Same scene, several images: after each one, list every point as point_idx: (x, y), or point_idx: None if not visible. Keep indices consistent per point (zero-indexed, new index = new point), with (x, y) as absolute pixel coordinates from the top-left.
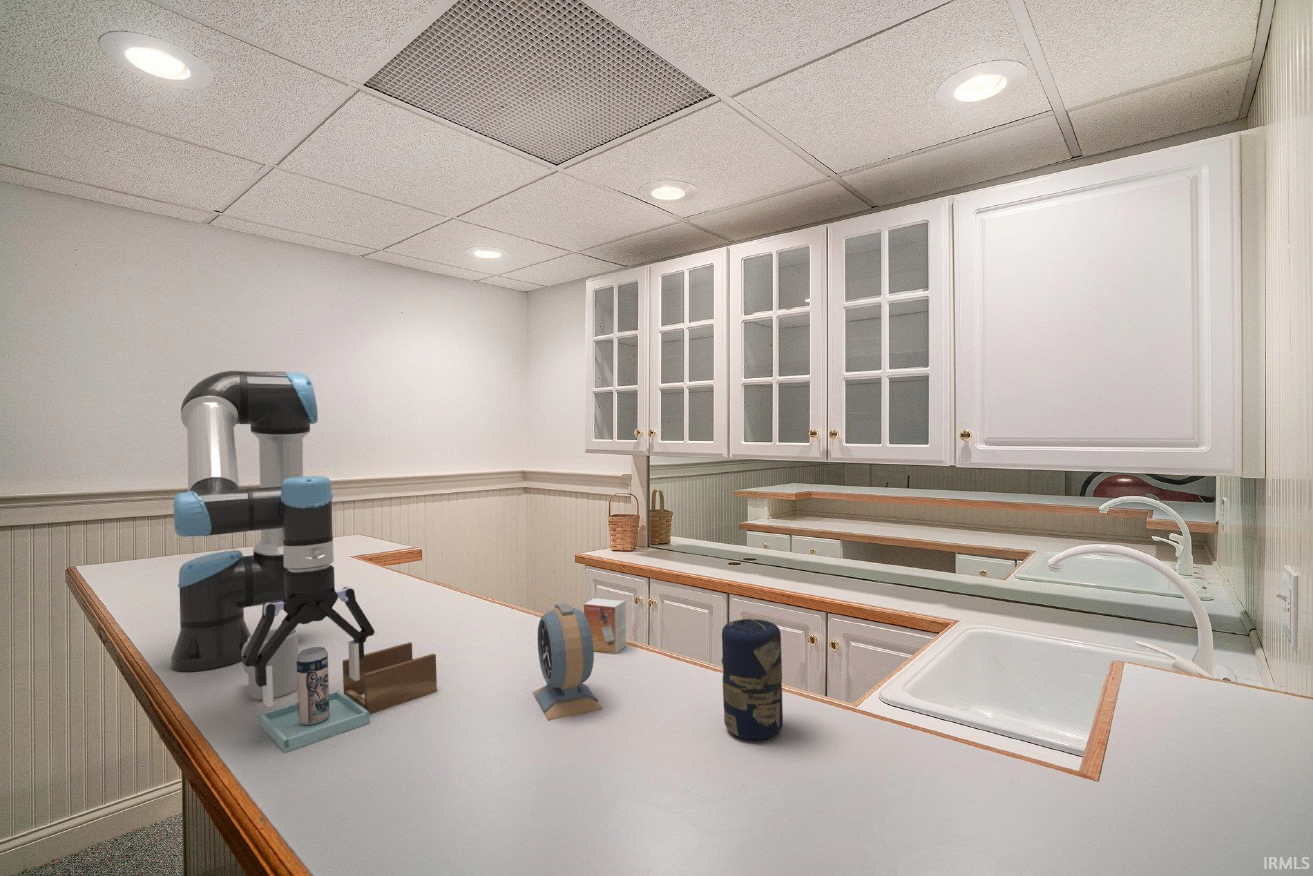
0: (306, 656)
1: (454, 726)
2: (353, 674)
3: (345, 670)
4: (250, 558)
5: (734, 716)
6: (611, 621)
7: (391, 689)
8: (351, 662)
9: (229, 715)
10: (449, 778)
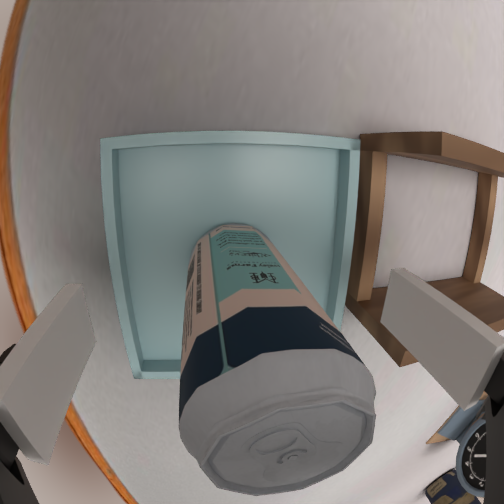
0: (231, 485)
1: (382, 423)
2: (394, 318)
3: (418, 152)
4: None
5: (432, 497)
6: None
7: None
8: (424, 325)
9: (84, 12)
10: (292, 496)
